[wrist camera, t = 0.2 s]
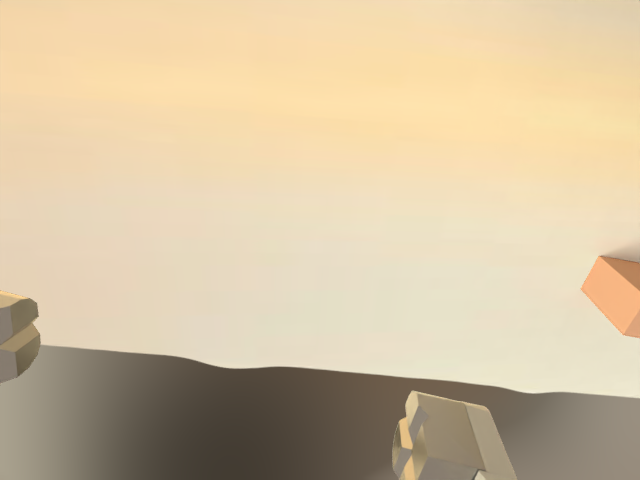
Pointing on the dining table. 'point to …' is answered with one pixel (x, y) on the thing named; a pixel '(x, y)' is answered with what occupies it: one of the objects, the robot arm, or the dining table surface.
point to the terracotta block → (616, 292)
